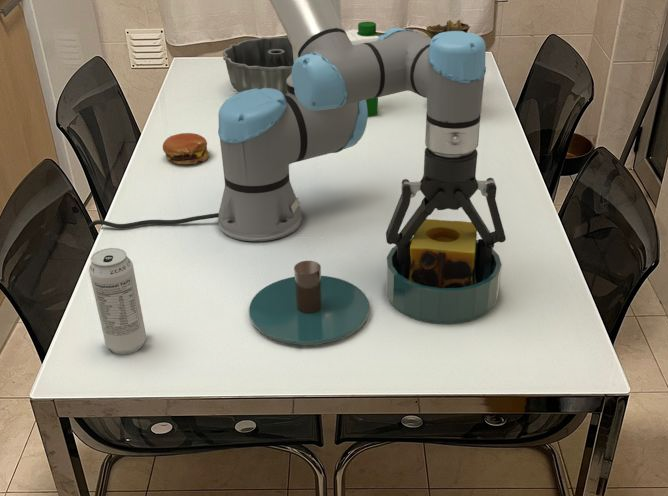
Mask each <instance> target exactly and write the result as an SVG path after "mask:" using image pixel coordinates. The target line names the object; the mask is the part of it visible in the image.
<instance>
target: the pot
mask: <svg viewBox="0 0 668 496" xmlns="http://www.w3.org/2000/svg"><path fill="white" fill-rule="evenodd" d="M412 240H413V237H412V238H411V239H410V245H411V242H412ZM476 244H477V247H476V259H477V249H478V239H476ZM502 265H503V264H502V261H501V258H500V255H499V254H498V253H497V251H495V250H494V248H492V256H491V261H490V263H484V269H483V279H482V281H481V282H479V283H477V281H476V277H475V279H474V285H471V286H466V287H461V288H435V287H429V286H423V285H420V284H417V283H415V282H412V281H409V280H408V279H406V278H404V277H403V273H404V264H398V262H397V245H394V246H393V247H392V248H391V249H390V250H389V252H388V254H387V256H386V273H385V277H386V279H385V288H386V289H385V290H386V299H387V300H388V302H389V304H390V305H391V306H392V307H393V308H394V309H395V310H396V311H397V312H399V313H400V314H402V315H404V316H406V317H408V318H410V319H413V320H416V321H419V322H423V323H428V324H436V325H456V324H457V325H458V324H463V323H468V322H472V321H475V320H477V319H479V318H481V317H483V316H485V315H487V314H489V312H491V310H493V309H494V307H495V306H496V304H497V301H498V296H499V290H500V283H501V274H502ZM410 266H411V256H410ZM475 270H476V267H475Z"/></svg>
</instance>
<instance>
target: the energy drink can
mask: <svg viewBox="0 0 668 496" xmlns="http://www.w3.org/2000/svg"><path fill="white" fill-rule="evenodd" d="M90 261H91V262H90V264H89V268H88V273H89V277H90V282H91V286H92V291H93V295H94V299H95V304H96V309H97V313H98V318H99V321H100V326H101V330H102V331H101V332H102V335H103V339H104V344H105V346H106V347H107V348H108V349H110V351H112V352H113V353H115V354H118V355H128V354H132V353H135V352H137V351H139V350H140V349H142V347H143V345H144V344H145V341H146V340H147V332H146V327H145V321H144V316H143V310H142V306H141V302H140V301H141V300H140V296H139V290H138V284H137V280H136V274H135V269H134V264H133V263H134V262H133V261H132V260H131V259H130V258H129V257H128V256H127V252H126V251H125V250H124V249H121V248H118V247H108V248H103V249H100V250H98V251H96V252H94V253H93V254H92V255H91V257H90Z"/></svg>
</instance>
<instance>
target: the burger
mask: <svg viewBox="0 0 668 496" xmlns="http://www.w3.org/2000/svg"><path fill="white" fill-rule="evenodd" d="M162 151H163V152H164V154H165V157H166V158H167V160H168V161H171V162H173V163H174V164H177V165H191V164H192V165H196V164H197V163H198V162H205V161H207V160H208V159H209V156H210V155H209V150H208V142H207V139H206V138H205V137H204V136H202V135H200V134H198V133H192V132H183V133H182V132H181V133H177V134H173V135H170V136H169V137H167V138H166V139H165V140H164V141H163V143H162Z"/></svg>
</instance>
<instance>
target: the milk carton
mask: <svg viewBox="0 0 668 496" xmlns="http://www.w3.org/2000/svg"><path fill="white" fill-rule="evenodd" d="M345 32H346V34H347V36H348V38H349V39H350V41H351V43H352V45H358V44H362V43H368V42H373V41H376V40H377V39H378V38H379V37H380V35H379V34H378V33H377V23H376V22H374V21H362V22H359V23H358V25H357V29H349V30H345ZM366 103H367V111H368V116H367V117H373V116H378V113H379V110H378V109H379V97H378V98H373V99H367V100H366Z"/></svg>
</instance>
